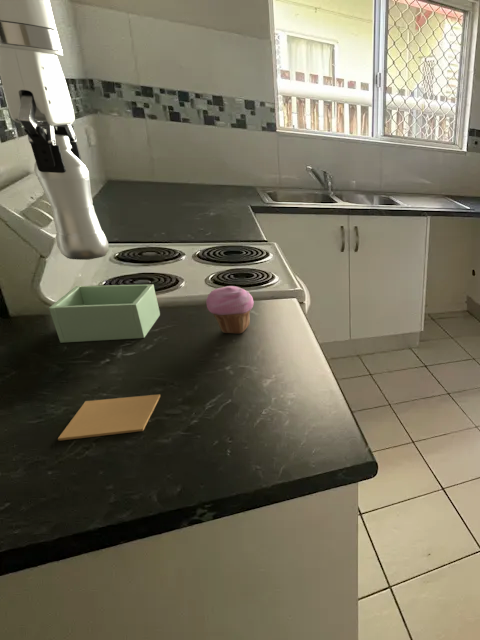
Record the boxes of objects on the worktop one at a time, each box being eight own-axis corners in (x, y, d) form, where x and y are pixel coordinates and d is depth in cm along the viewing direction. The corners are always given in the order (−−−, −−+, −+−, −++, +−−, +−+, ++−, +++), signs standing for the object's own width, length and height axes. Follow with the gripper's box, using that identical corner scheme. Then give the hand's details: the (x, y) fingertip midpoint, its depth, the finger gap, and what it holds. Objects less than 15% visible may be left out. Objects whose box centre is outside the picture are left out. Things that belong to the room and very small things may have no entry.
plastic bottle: (111, 262, 82) (79, 138, 74) (59, 265, 78) (19, 135, 70) (112, 252, 87) (82, 135, 79) (63, 255, 83) (26, 132, 75)
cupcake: (250, 338, 101) (244, 294, 97) (205, 339, 99) (196, 293, 95) (261, 322, 109) (256, 280, 104) (219, 322, 107) (212, 280, 103)
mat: (58, 440, 67) (57, 438, 67) (86, 403, 75) (85, 401, 75) (143, 431, 71) (142, 428, 70) (160, 396, 79) (160, 394, 79)
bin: (60, 342, 92) (48, 307, 89) (85, 317, 102) (75, 286, 99) (144, 337, 97) (136, 304, 94) (160, 314, 107) (153, 284, 104)
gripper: (21, 42, 75) (54, 162, 82) (-44, 28, 61) (4, 175, 68) (80, 49, 78) (108, 164, 85) (32, 38, 63) (70, 177, 71)
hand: (61, 168), depth 76 cm, fingers closed on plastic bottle, 6 cm apart
